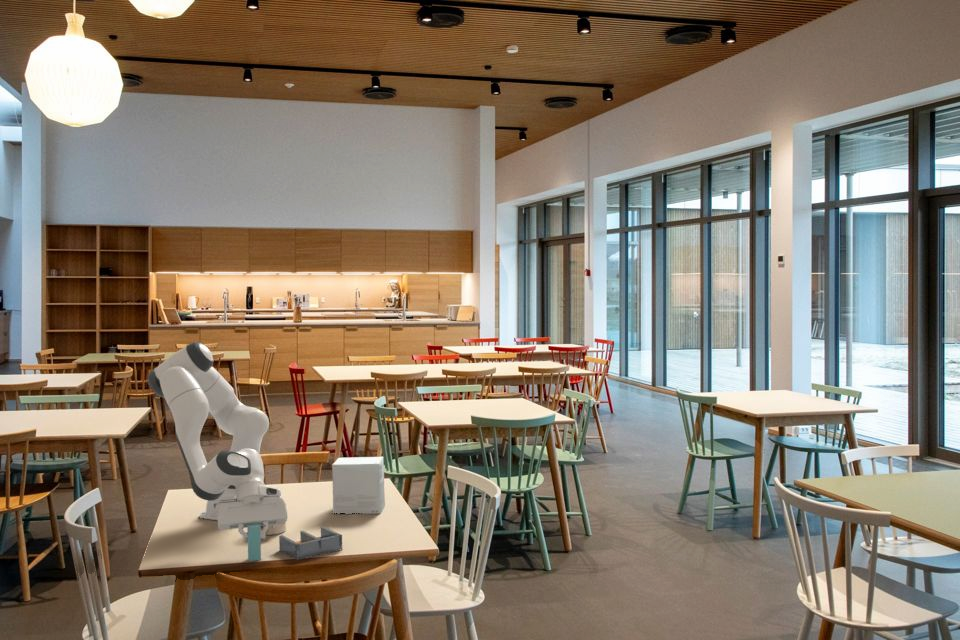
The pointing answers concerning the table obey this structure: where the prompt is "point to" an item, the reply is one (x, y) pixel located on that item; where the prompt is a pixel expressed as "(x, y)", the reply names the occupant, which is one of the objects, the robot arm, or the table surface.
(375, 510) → the supplement box
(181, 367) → the robot arm
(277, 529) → the teacup with lid
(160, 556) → the table surface
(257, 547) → the teal rectangular block
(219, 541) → the table surface
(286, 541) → the rack
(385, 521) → the table surface
